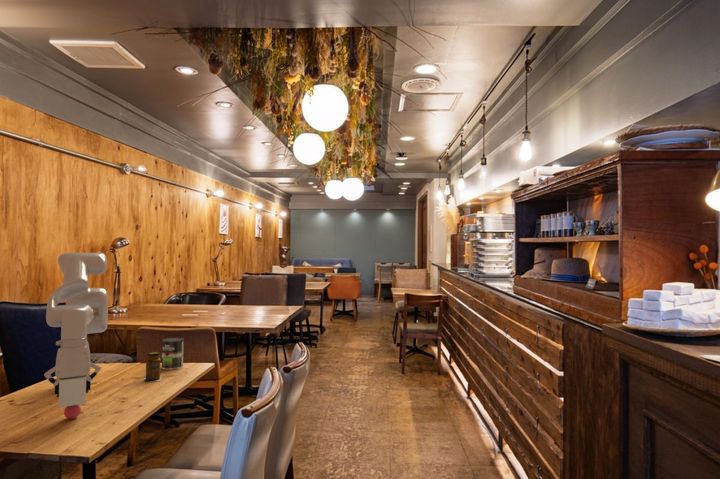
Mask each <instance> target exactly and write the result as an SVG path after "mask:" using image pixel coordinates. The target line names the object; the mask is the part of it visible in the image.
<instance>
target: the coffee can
mask: <svg viewBox="0 0 720 479" xmlns="http://www.w3.org/2000/svg"><path fill="white" fill-rule="evenodd" d="M184 340H185V339H184V337H183V338H182V337H168V338H163V339H162V340H161V366H160V369H162V370H166V371H167V370H169V371H170V370H171V371H172V370H178V369H181V368H183V367H184Z"/></svg>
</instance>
